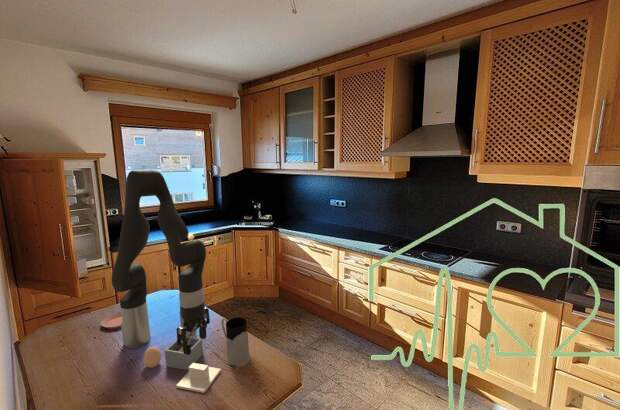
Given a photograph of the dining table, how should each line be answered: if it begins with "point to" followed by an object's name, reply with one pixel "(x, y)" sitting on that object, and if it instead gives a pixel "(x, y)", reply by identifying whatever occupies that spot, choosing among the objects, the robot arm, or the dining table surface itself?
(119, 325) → the plate
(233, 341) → the glass holder
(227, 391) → the dining table surface
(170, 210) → the robot arm
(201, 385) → the lid
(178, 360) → the tin box
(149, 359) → the egg
